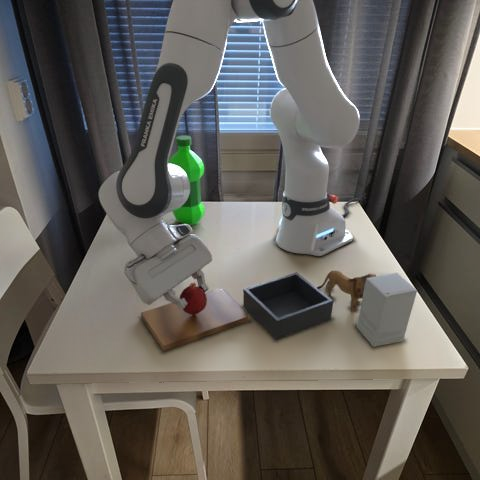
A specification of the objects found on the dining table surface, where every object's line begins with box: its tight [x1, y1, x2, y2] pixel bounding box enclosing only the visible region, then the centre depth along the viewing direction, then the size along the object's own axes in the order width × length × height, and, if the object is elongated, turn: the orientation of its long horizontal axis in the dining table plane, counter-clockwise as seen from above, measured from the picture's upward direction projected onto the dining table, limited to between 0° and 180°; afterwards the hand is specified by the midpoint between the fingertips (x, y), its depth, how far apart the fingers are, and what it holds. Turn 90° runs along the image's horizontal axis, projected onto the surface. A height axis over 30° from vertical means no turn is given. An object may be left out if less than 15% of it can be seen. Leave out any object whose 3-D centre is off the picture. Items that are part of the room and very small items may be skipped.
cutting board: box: [140, 287, 250, 352], centre depth 99 cm, size 20×13×2 cm, turn 120°
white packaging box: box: [356, 272, 418, 348], centre depth 92 cm, size 7×7×13 cm
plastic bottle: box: [168, 135, 206, 226], centre depth 131 cm, size 10×10×25 cm
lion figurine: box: [316, 269, 377, 312], centre depth 103 cm, size 15×5×9 cm, turn 54°
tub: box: [242, 271, 334, 341], centre depth 100 cm, size 15×14×5 cm
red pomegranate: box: [179, 282, 207, 315], centre depth 96 cm, size 6×6×8 cm
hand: (195, 299), depth 96 cm, fingers closed on red pomegranate, 6 cm apart
